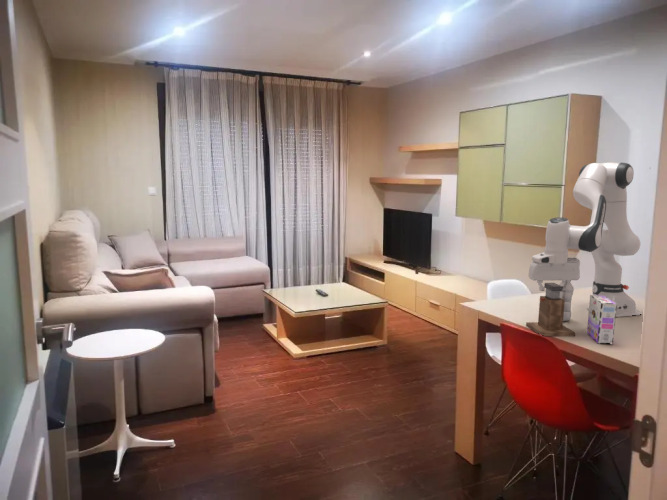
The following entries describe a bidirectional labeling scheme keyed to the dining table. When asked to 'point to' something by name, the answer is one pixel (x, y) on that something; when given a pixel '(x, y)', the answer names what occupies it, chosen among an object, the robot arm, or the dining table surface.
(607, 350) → the dining table surface
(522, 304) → the dining table surface
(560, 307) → the stand
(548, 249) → the robot arm
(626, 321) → the dining table surface
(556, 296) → the column
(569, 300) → the plastic bottle
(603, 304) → the candy box
